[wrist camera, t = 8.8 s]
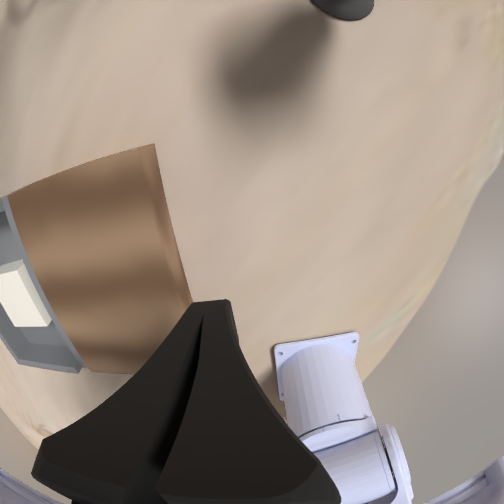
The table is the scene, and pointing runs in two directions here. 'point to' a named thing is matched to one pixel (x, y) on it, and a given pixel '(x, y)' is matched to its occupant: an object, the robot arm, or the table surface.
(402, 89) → the table surface
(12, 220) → the box
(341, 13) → the sundae
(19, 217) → the board
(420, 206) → the table surface
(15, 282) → the block
